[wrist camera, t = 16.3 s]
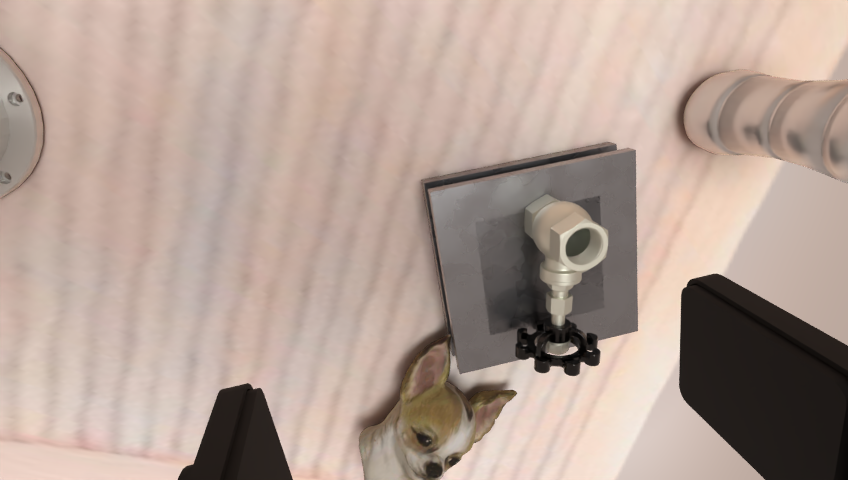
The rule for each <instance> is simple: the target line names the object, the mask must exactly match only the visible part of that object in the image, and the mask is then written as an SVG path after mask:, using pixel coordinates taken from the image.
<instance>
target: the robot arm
mask: <svg viewBox="0 0 848 480" xmlns="http://www.w3.org/2000/svg"><path fill="white" fill-rule="evenodd" d="M20 95H21V97H22V99H23V101H21V100H20V98H19V96H20ZM42 145H43V122H42V116H41V110H40V107H39V105H38V102H37V99H36V97H35V94H34V91H33V89H32V88H31V86H30V84H29V83H28V81H27V79H26V78H25V76H24V74H23V73H22V72H21V70H20V69H19V68H18V67H17V65H16V64H15V63H14V62H13V61H12V59H11V58H10V57H9V56H8V55H7V54H6V53H5V52H4V51H2V50H1V49H0V198H1V197H3V196H5V195H7V194H8V193H10V192H11V191H13V190H14V189H16V188H17V187H19V186H20V185H21V184H22V183H23V182H24V181H25V180H26V179H27V178H28V176H29V175H30V174H31V173H32V171H33V169H34V167H35V165H36V164H37V162H38V160H39V156H40V153H41V149H42ZM8 173H9V174H10V176H11V177H10V176H9V174H8ZM679 387H680V392H681V394H682V397H683V398H684V400H685V401H686V402H687V404H688V405H689V406H690V407H692V408H693V409H694V410H695V411H696V412H697V413H698V414H699V415H700V416H701V417H702V418H703V419H704V420H705V421H706V422H707V423H708V424H709V425H710V426H711V427H712V428H713V429H714V430H715V431H716V432H717V433H718V434H719V435H720V436H721V437H722V438H723V439H724V440H725V441H726V442H727V443H728V444H729V445H731V447H732V448H734V449H735V450H736V451H737V452H738V453H739V454H740V455H741V456H742V457H743V458H744V459H745V460H746V461H747V462H748V463H749V464H750V465H751V466H752V467H753V468H754V469H755V470H756V471H757V472H758V473H759V474H760V475H761V476H762V477H763V478H764V479H765V480H848V346H847V345H845V344H844V343H842V342H840V341H838V340H837V339H835V338H833V337H831V336H829V335H827V334H826V333H824V332H822V331H820V330H819V329H817V328H815V327H813V326H811V325H810V324H808V323H806V322H804V321H802V320H801V319H799V318H797V317H795V316H794V315H792V314H790V313H788V312H786V311H785V310H783V309H781V308H779V307H777V306H776V305H774V304H772V303H770V302H769V301H767V300H765V299H763V298H761V297H760V296H758V295H756V294H754V293H752V292H751V291H749V290H747V289H745V288H743V287H742V286H740V285H738V284H736V283H735V282H733V281H731V280H729V279H727V278H726V277H724V276H722V275H719V274H711V275H707V276H703V277H699V278H694V279H691V280H690V281H689V282H688V284H687V287H685V288H684V289H683V290H682V294H681V333H680V377H679ZM178 480H293V479H292V476H291V473H290V470H289V467H288V464H287V461H286V458H285V455H284V452H283V449H282V446H281V443H280V440H279V437H278V434H277V431H276V429H275V426H274V423H273V420H272V417H271V414H270V411H269V408H268V405H267V402H266V399H265V396H264V393H263V391H262V389H261V388H257V389H253V388H252V386H251V385H250V384H249V383H247V384H243V385H239V386H235V387H230V388H226V389H222V390H220V391H219V393H218V396H217V399H216V401H215V404H214V407H213V410H212V413H211V416H210V419H209V421H208V424H207V427H206V430H205V433H204V436H203V439H202V442H201V444H200V447H199V450H198V453H197V456H196V459H195V462H194V464H193V465H189V466H186V467H185V468H184V469H183V470H182V472H181V474H180V476H179V478H178Z"/></svg>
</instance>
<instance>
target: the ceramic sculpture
mask: <svg viewBox="0 0 848 480" xmlns="http://www.w3.org/2000/svg"><path fill="white" fill-rule="evenodd" d="M450 341H451V335H450V334H449V335H447V336H445V337H443V338H441V339H439V340H437V341H435V342H433V343H431V344H430V345H428V346H427V347H425V349H424V350H423V351H422V352H420V353H419V354H418V355H417V356H416V357H415V359H414V361H413V362H412V364H411V365H410V367H409V368H408V370H407V372H406V375H405V378H404V379H403V381H402V384H401V388H400V400H399V401H398V403H397V404H396V405H395V407H394V408H393V409H392V411H391V412H390V413H389V414H388V416H387V417H386V418H385V420H384V421H383V422H382V423H380V424H378V425H375V426H370V427H367V428H366V429H365V430H364V431H362V433H361V435H360V438H359V449H360V453H361V458H362V464H363V471H364V480H440V479H441V478H442V476H443V474H444V473H445V472H446V471H447V470H448V469H449V468H451V467H452V466H453V465H455V464H456V463H458V462H459V461H460V460H461V457H462V455H464V454H465V453H467V452H468V451H469V450H470V449H471V448H472V445H473V443H476V442H478V441H480V440H481V439H482V437H483V436H484V435H485V434H486V433H488V432H489V431H490V430H491V428H492V426H493V425H494V422H495V419H497V418H498V416H499V414H500V413H501V411H502V408H503V407H504V405H505V404H506V403H507V402H508V401H510V400H511V399H512V398H513V397H514V396H516V394H517V393H516V391H514V390H501V391H500V390H491V391H481V392H479V393H476V394H475V395H474V396H473V397H472V398H471V399H470V400H469V401H468V400H467V399H466V397H465V396H464V394H463V393H462V392H461V391H460V390H459V389H458V388H457V387H455V386H453V385H451V384H449V383H447V382H446V380H447V378H448V376H449V371H450V347H449V346H450Z"/></svg>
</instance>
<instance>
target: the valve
mask: <svg viewBox="0 0 848 480" xmlns="http://www.w3.org/2000/svg"><path fill="white" fill-rule="evenodd" d="M524 229H525V233H526V234H528V235H529V236H530V237H531V238H532V239H534V242H535V244H536V246H537V247H538V249H539V250H540V251H541V252H542V253H543V254H544V255H545V260H544V261H543V262H541V264H540V279H541V280H542V281H543V282H545V283H547V285H548V287H549V288H550V289H552V290H551V291H549V292H547V293H546V309H547V311H548V312H549V313H551V314H552V316H551V317H549V318H546V319H545V320H540V321H537V323H536V332H534V333H533V334H531V335H530V334H528V333H527V328H519V329H518V330H517V343H516V344H515V356H516V358H518V359H521V360H526V359H528V358H529V357H531V358H534V359H535V361H534V369H535V370H536V371H537V372H539V373H547V372H549V370H550V367H551V366H559V367H563V368H564V372H565V373H566V374H567V375H570V376H576V375H578V374H579V373H580V363H581V362H585V364H587V365H589V366H597V365H599V363H600V350H599V349H597V343H598V336H597V335H596V334H593V333H587V336H586V335H585V334H584V333H583V332H582V331H581V330H579V329H577V325H576V324H575V323H572V322H570V321H569V320H568V319H566V318H565V315H567V314H569V313H570V312H571V311H572V300H573V296H572V295H571V294H570V293H569V292H568V290H570V289H571V288H573V285H576V284H578V283H579V282H580V281H581V279H582V273H583V272H585V271H587V270H589V269H591V268H592V267H594V266H596V265H597V264H598V263H600V262H601V261H602V260H603V259H605V258H606V254H607V248H608V230H607V229H605V228H604V227H602V226H600V225H599V224H597V223H595V222H593V221H592V219H591V217H590V215H589V214H588V213H587V211H586V210H584V209H583V208H582V207H580V206H579V205H577V204H575V203H572V202H567V201H559V200H557V199H556V198H554V197H552V196H550V195H548V194H546V195H544V196H542V197H540V198H539V199H537V200H535V201H534V202H532V203H531V204H530V205H528V206H527V207H526V208H525V216H524ZM536 343H537V346H535V344H536ZM569 343H572V344H574V345H575V346H576V347H577V348H578V351H577V352H575V353H573V354H571V355H565V356H556V355H560V354H564V353H566V352H567V351H568V350H569ZM523 345H527V346H523ZM545 350H547V351H548V352H549V353H552V354H556V355H550V354H547V353H545ZM587 350H589V351H592V352H589V351H587Z"/></svg>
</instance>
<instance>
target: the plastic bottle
mask: <svg viewBox="0 0 848 480" xmlns="http://www.w3.org/2000/svg"><path fill="white" fill-rule="evenodd" d="M684 126H685V130H686V133H687V136H688V137H689V139H690V140H691V141H692V142H693V143H694V144H695V145H696V146H698V147H700V148H702V149H704V150H706V151H708V152H710V153H714V154H721V155H753V156H762V157H771V158H776V159H780V160H784V161H787V162H790V163H794V164H798V165H802V166H805V167H808V168H810V169H812V170H815V171H817V172H820V173H822V174H825V175H827V176H830V177H832V178H835V179H837V180H840V181H842V182H845V183H848V79H846V80H824V81H800V80H793V79H786V78H778V77H772V76H769V75H766V74H763V73H759V72H754V71H749V70H734V71H729V72H724V73H720V74H717V75H714V76H712V77H710V78H709V79H707V80H706V81H704V82H703V83H702V84H701V85H700V86H699V87H698V88H697V89H696V90H695V91H694V92H693V94H692V95H691V97H690V98H689V100H688V102H687V104H686V107H685V111H684Z"/></svg>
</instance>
